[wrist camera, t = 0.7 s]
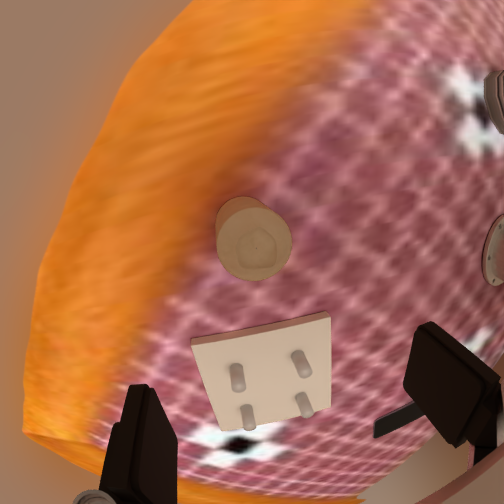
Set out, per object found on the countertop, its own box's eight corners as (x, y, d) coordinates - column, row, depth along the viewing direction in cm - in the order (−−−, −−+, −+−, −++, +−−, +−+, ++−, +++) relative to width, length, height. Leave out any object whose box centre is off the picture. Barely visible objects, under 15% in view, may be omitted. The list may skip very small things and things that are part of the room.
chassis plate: (325, 310, 33) (342, 332, 29) (327, 400, 38) (338, 423, 33) (191, 338, 32) (189, 364, 27) (221, 423, 37) (223, 449, 32)
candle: (280, 223, 30) (313, 251, 20) (241, 260, 30) (255, 303, 21) (243, 184, 28) (260, 192, 19) (203, 223, 29) (199, 251, 19)
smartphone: (374, 420, 42) (441, 387, 42) (372, 416, 43) (438, 384, 43) (373, 440, 44) (435, 409, 44) (371, 436, 45) (432, 405, 45)
